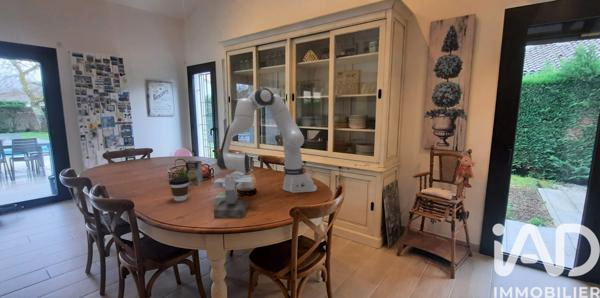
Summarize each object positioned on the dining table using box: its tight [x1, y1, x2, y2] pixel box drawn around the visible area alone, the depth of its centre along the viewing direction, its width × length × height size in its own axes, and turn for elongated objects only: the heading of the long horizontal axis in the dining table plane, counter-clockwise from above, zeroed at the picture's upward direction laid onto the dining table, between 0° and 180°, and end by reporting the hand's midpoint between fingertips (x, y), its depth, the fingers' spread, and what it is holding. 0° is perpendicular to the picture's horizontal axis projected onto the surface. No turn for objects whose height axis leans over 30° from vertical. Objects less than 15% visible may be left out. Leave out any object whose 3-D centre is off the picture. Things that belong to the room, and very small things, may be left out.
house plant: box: [172, 166, 191, 192], centre depth 180 cm, size 14×14×16 cm
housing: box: [224, 173, 238, 204], centre depth 141 cm, size 5×5×14 cm
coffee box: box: [185, 160, 203, 186], centre depth 196 cm, size 9×6×16 cm
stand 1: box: [214, 191, 226, 206], centre depth 159 cm, size 10×10×4 cm
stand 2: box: [213, 199, 249, 219], centre depth 143 cm, size 14×14×4 cm
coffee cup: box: [168, 177, 189, 202], centre depth 163 cm, size 11×11×12 cm
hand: (230, 187), depth 140 cm, fingers closed on housing, 5 cm apart
